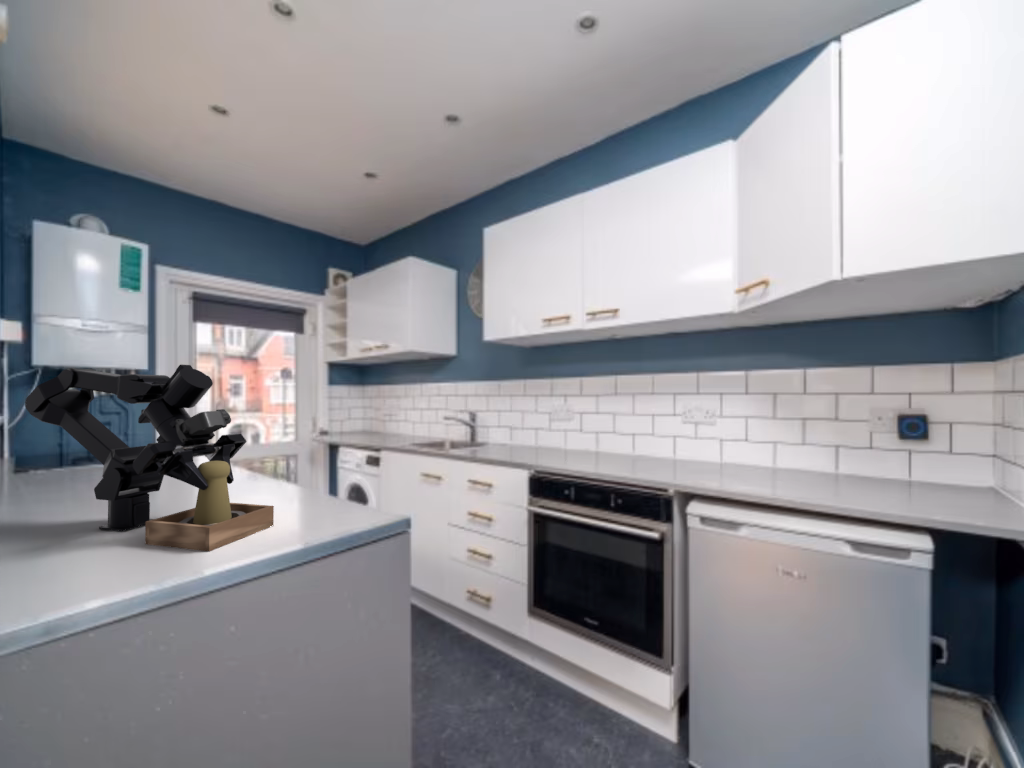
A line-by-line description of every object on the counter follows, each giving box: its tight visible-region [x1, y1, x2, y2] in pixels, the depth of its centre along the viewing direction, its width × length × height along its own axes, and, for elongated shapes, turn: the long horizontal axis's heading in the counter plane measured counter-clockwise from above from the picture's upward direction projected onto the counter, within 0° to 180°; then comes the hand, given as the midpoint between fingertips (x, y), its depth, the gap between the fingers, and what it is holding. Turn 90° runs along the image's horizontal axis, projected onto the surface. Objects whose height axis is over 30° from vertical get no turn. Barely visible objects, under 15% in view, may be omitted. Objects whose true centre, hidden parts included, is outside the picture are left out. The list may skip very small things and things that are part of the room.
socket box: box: [144, 502, 275, 552], centre depth 81 cm, size 14×14×4 cm
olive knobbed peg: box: [193, 460, 232, 525], centre depth 81 cm, size 6×6×11 cm
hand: (219, 485), depth 80 cm, fingers closed on olive knobbed peg, 5 cm apart
